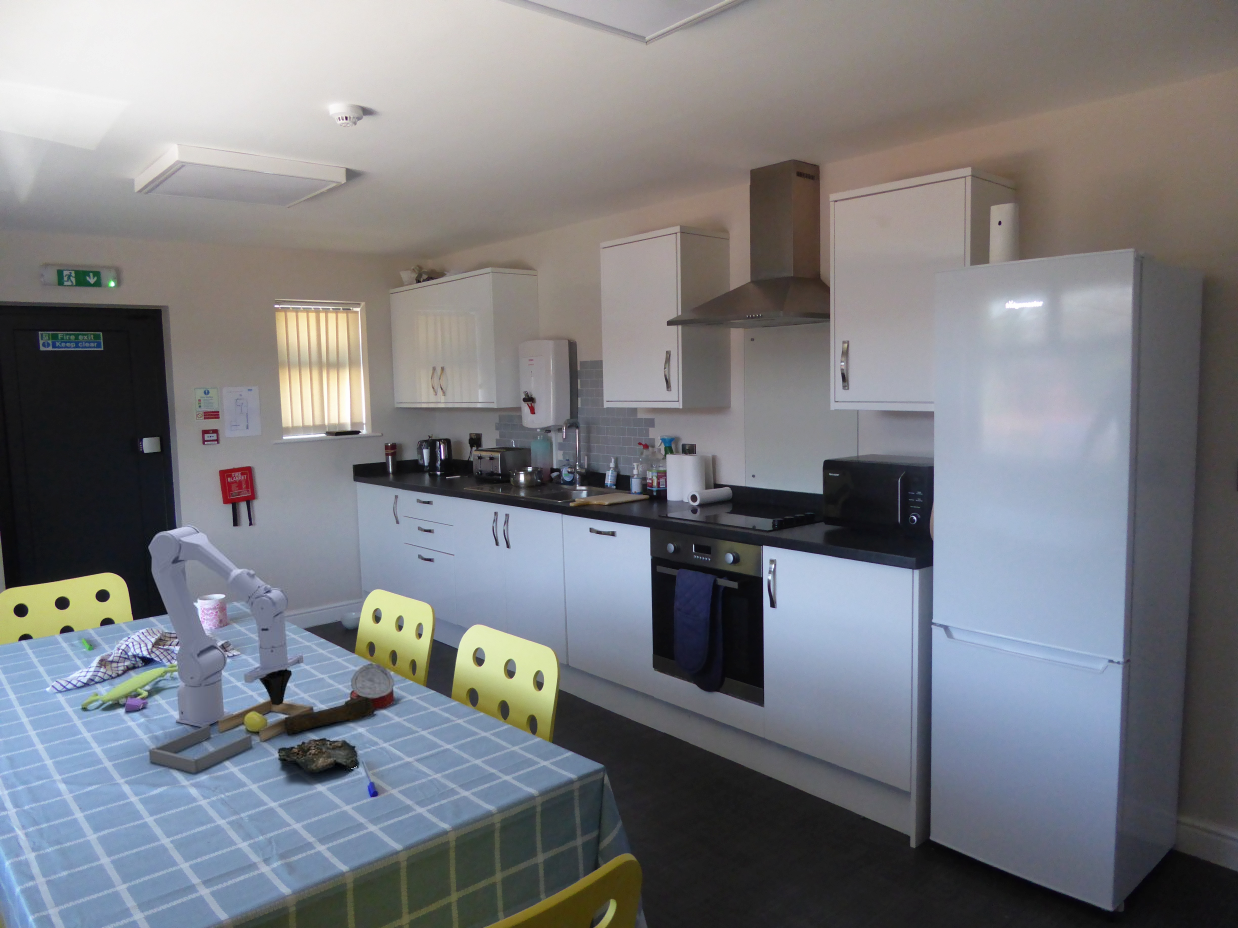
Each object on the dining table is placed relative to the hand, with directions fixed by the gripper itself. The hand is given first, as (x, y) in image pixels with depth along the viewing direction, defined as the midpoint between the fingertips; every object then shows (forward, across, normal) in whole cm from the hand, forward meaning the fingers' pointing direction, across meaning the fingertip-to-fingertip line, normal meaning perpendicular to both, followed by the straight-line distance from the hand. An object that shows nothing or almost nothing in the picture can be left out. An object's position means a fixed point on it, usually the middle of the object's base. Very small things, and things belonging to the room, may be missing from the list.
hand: (277, 703), depth 186 cm
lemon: (+4, -6, 0) cm, 7 cm away
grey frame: (+4, -19, 0) cm, 19 cm away
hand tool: (+4, +3, -13) cm, 14 cm away
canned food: (+4, +16, -13) cm, 21 cm away
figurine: (+4, 0, +45) cm, 45 cm away
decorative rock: (+4, -12, -25) cm, 28 cm away
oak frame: (+4, -3, 0) cm, 5 cm away
